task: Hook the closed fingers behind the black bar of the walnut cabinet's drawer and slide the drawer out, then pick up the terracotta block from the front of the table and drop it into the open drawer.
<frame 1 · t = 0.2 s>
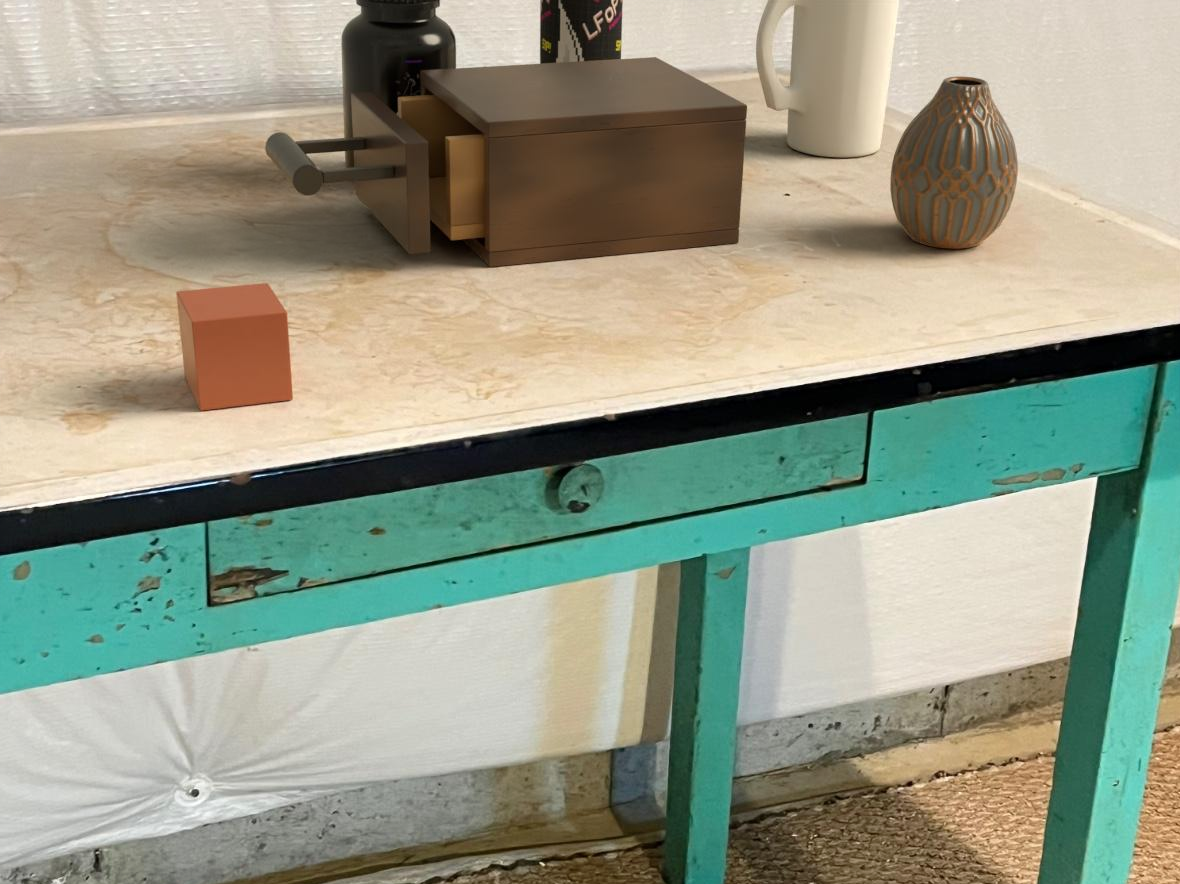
cabinet: (576, 222, 97), on the table
beverage can: (579, 110, 122), on the table
mug: (813, 151, 113), on the table
drawer: (450, 165, 93), point 4 cm above the table, slide at 3.0 cm
block: (238, 388, 74), on the table
supplement bottle: (402, 179, 105), on the table
vase: (945, 242, 96), on the table
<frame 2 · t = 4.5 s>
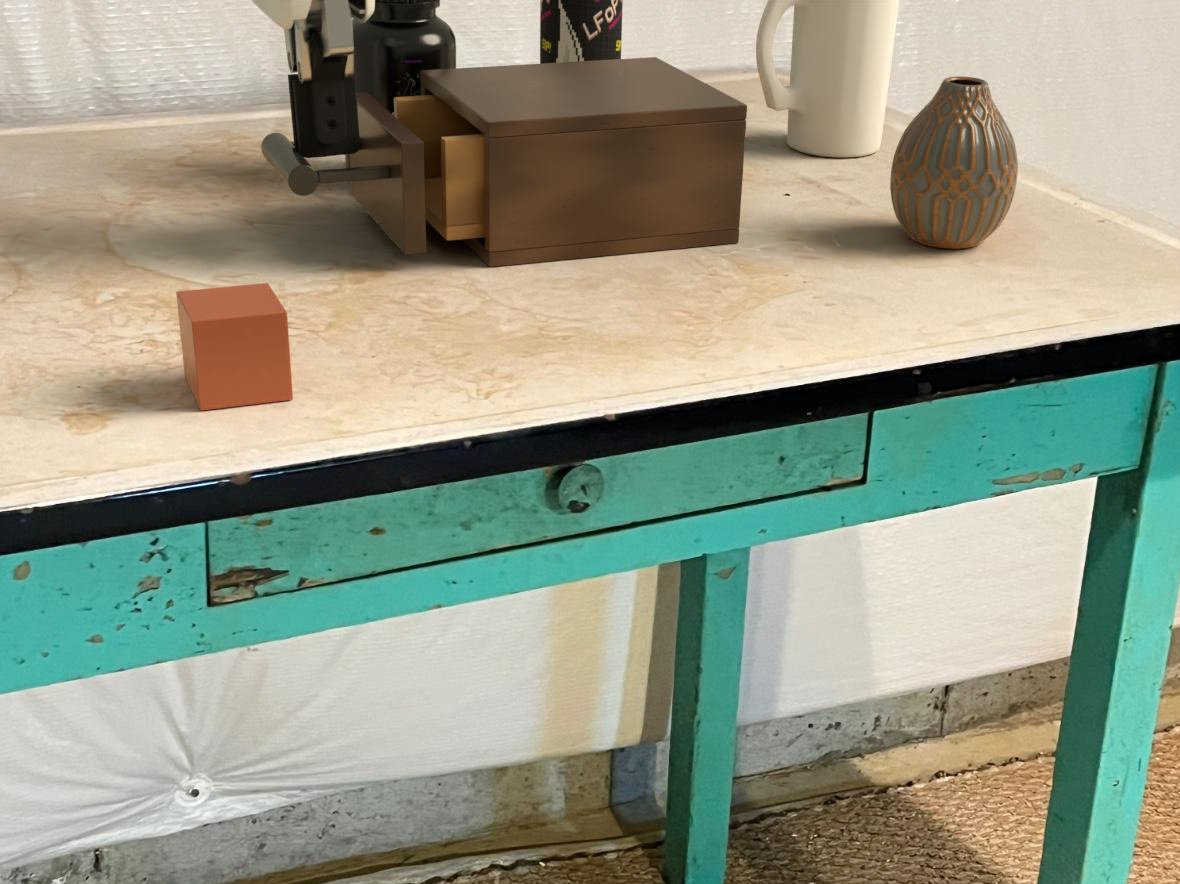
hand: (327, 151, 90), 5 cm above the table, tool pointing down, fingers closed
drawer: (446, 165, 93), point 4 cm above the table, slide at 3.2 cm, touching gripper
everything else where it was.
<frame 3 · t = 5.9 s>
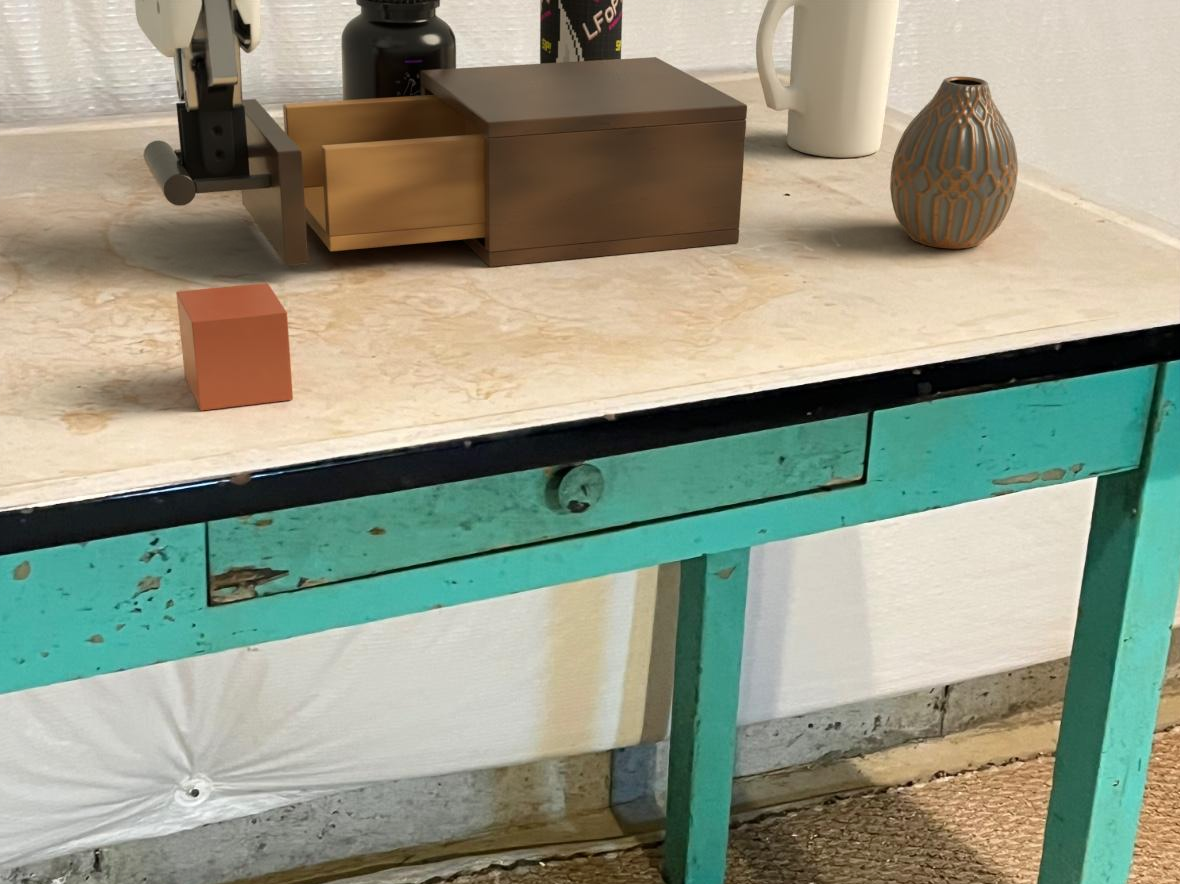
hand: (216, 181, 89), 4 cm above the table, tool pointing down, fingers closed
drawer: (334, 174, 91), point 4 cm above the table, slide at 9.5 cm, touching gripper
everything else where it was.
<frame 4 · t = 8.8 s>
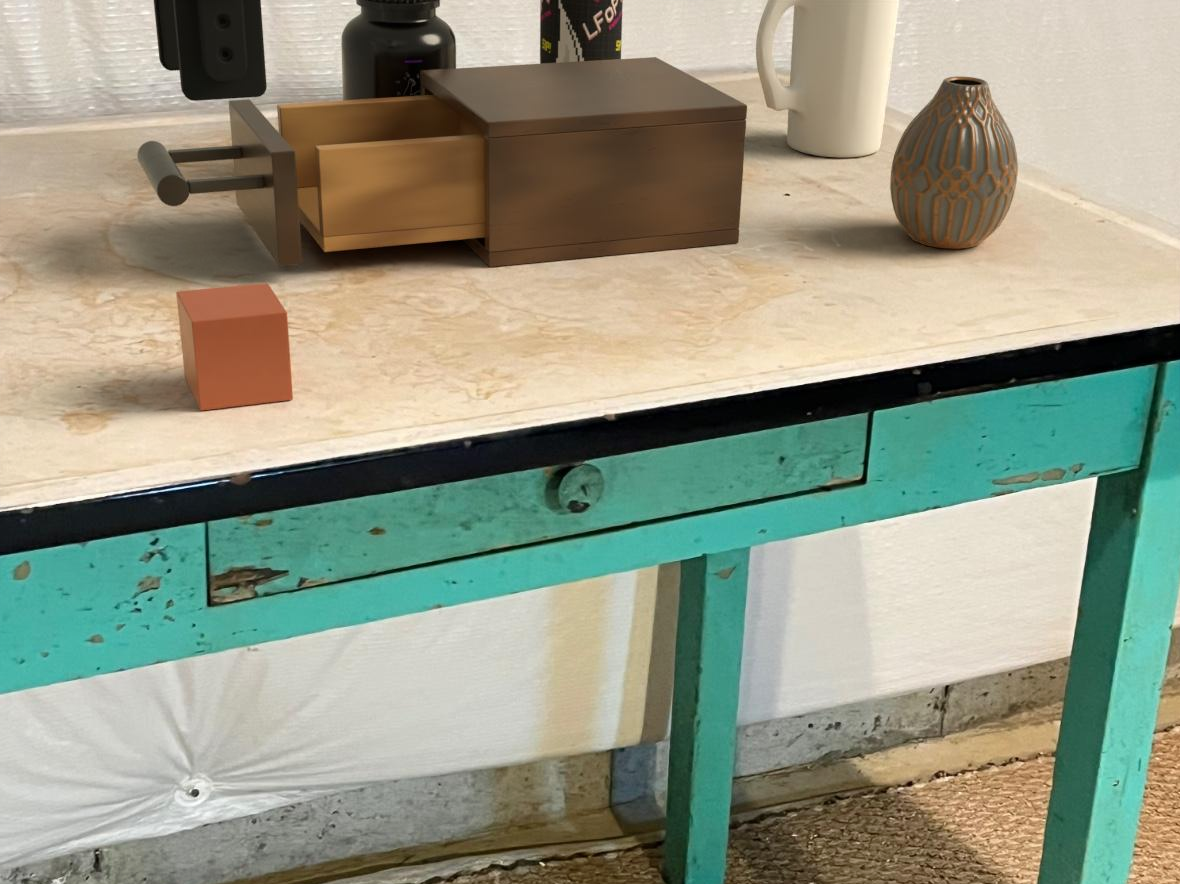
hand: (211, 76, 68), 13 cm above the table, tool pointing down, fingers open, 4 cm apart
drawer: (328, 174, 91), point 4 cm above the table, slide at 9.8 cm
everything else where it was.
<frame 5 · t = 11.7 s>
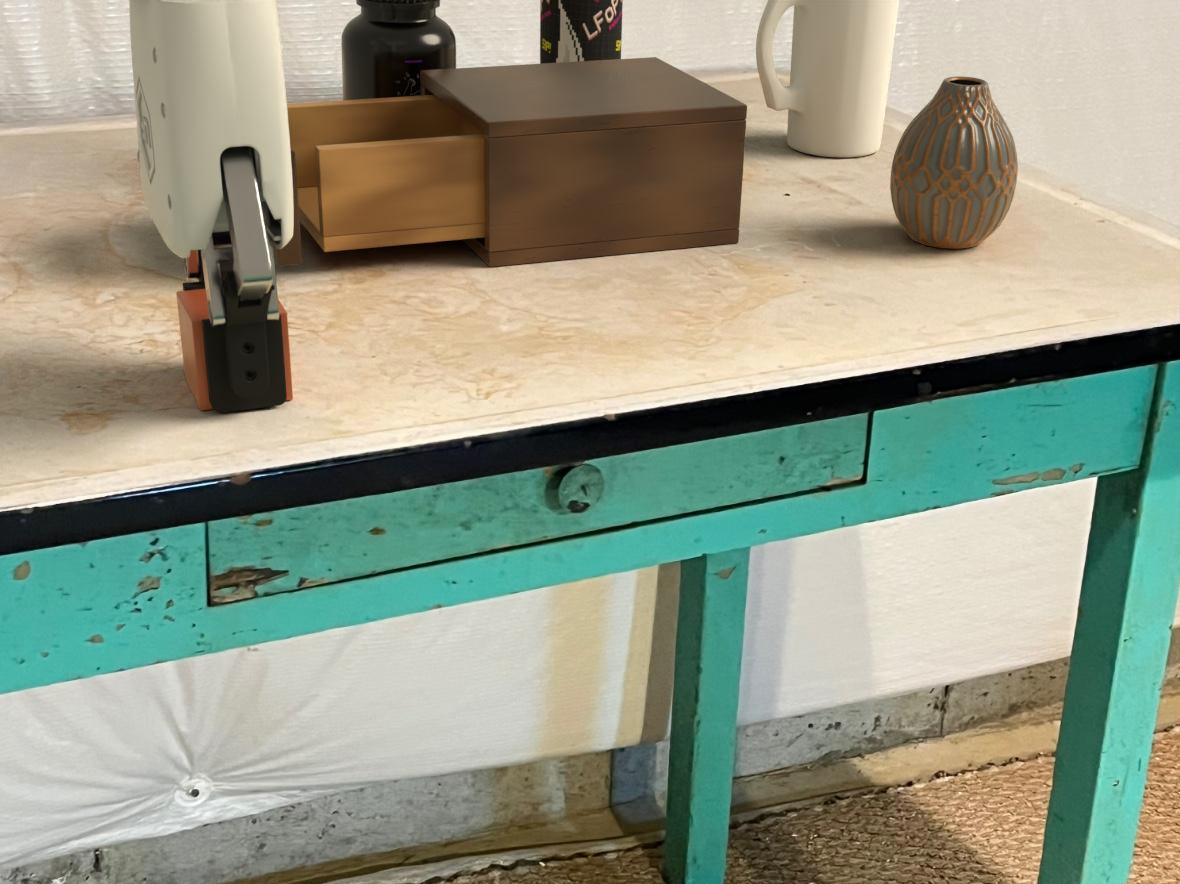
hand: (237, 382, 74), 0 cm above the table, tool pointing down, fingers closed on block, 4 cm apart
block: (238, 388, 74), on the table, touching gripper
everything else where it was.
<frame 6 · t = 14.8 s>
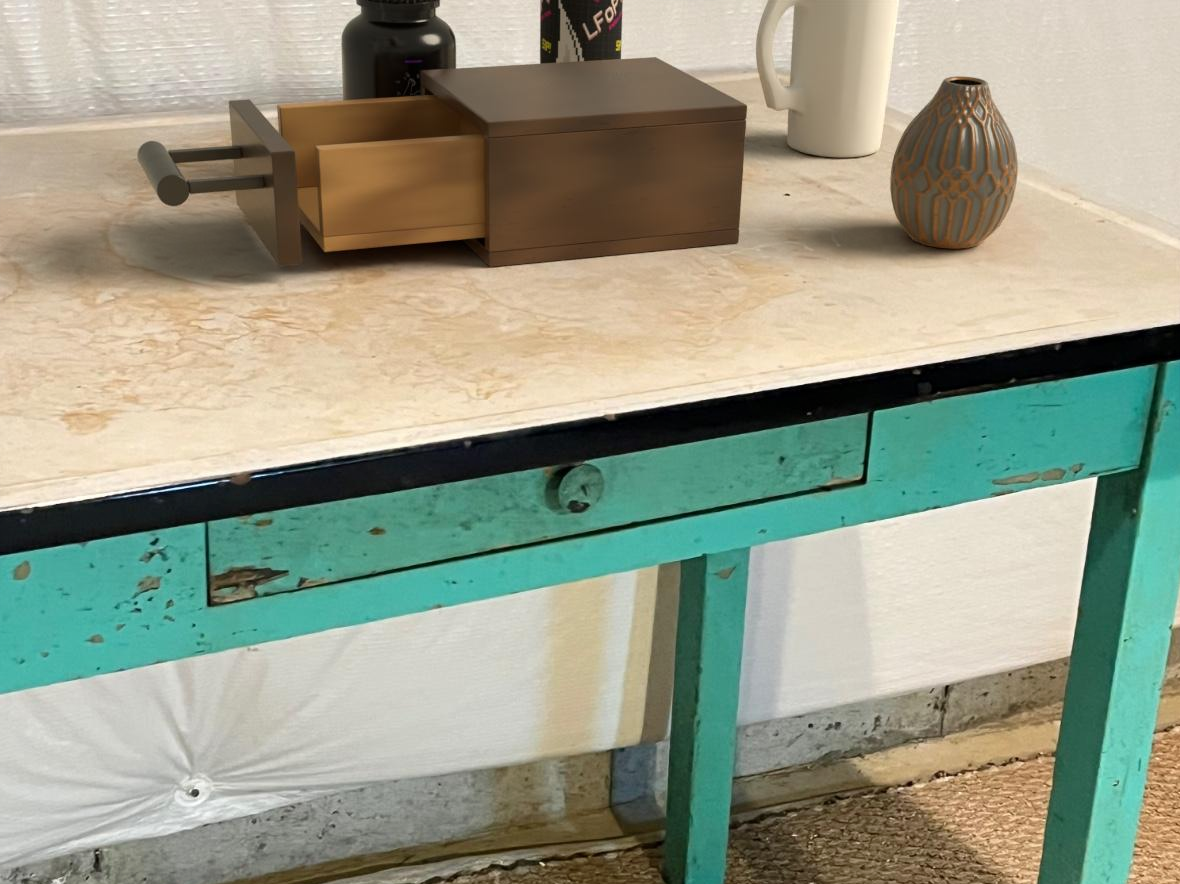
when the fingers open (9 cm above the table, at t = 17.9 s): block drops 7 cm, resting on drawer.
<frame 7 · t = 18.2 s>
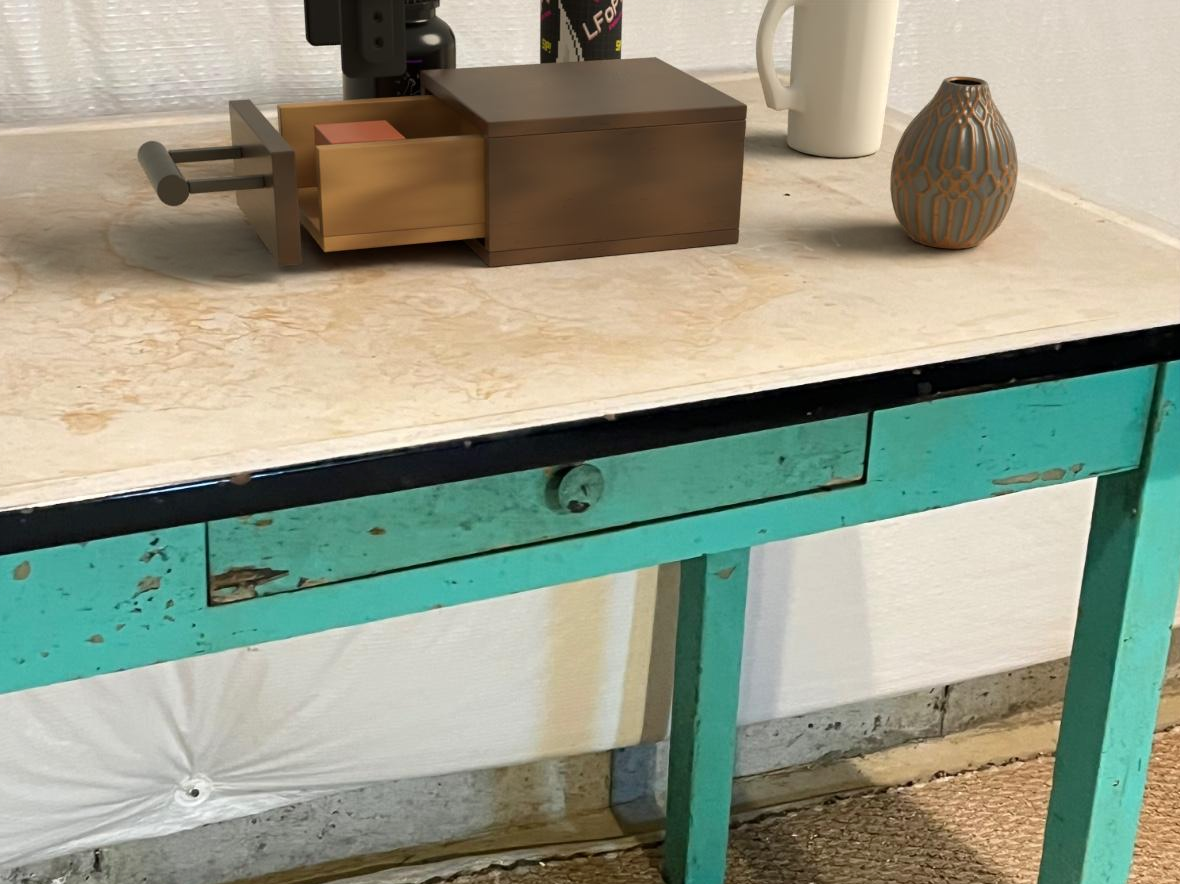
hand: (354, 56, 88), 10 cm above the table, tool pointing down, fingers open, 7 cm apart
drawer: (328, 174, 91), point 4 cm above the table, slide at 9.8 cm, touching block
block: (362, 205, 92), point 2 cm above the table, touching drawer
everything else where it was.
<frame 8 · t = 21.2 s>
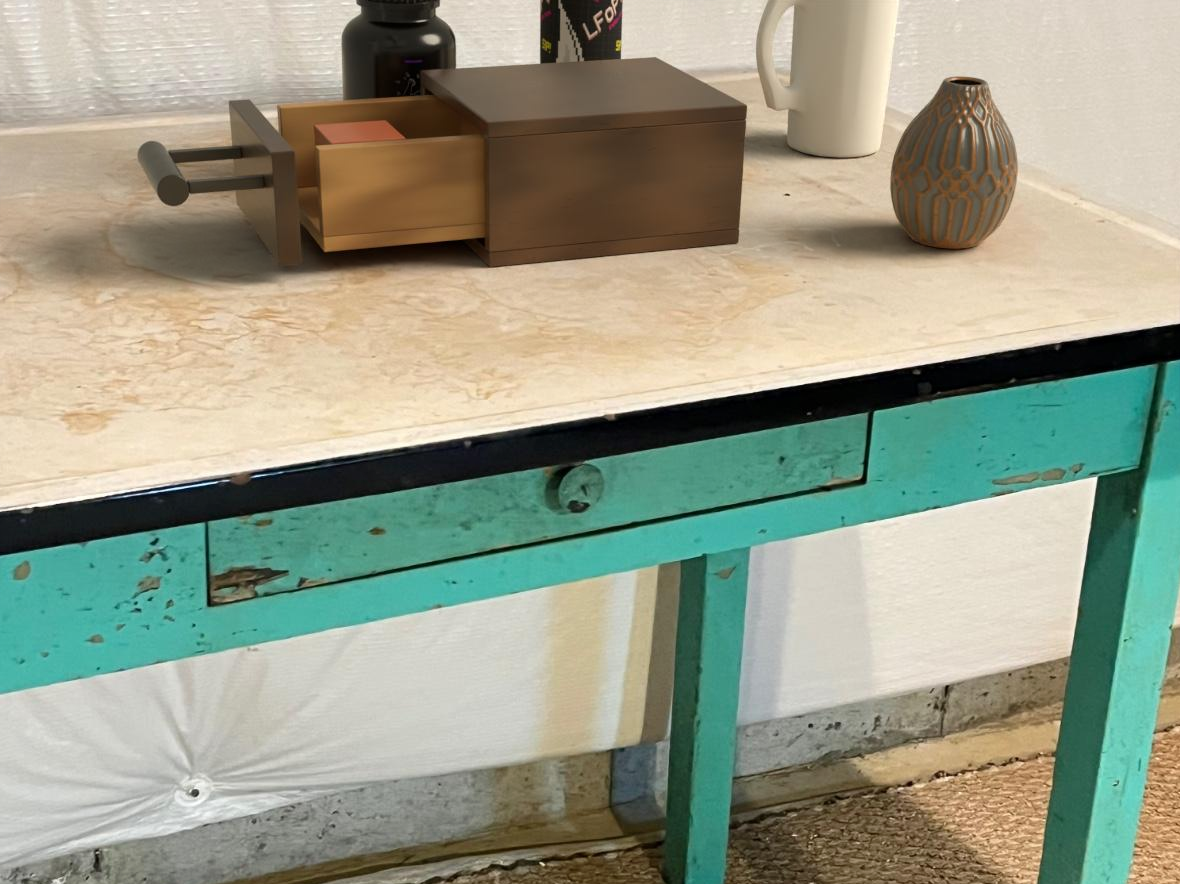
nothing on the table moved.
at the end: drawer slide at 9.8 cm; block inside the target area in the drawer (4.0 cm from its centre), point 2.0 cm above the cabinet's base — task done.
